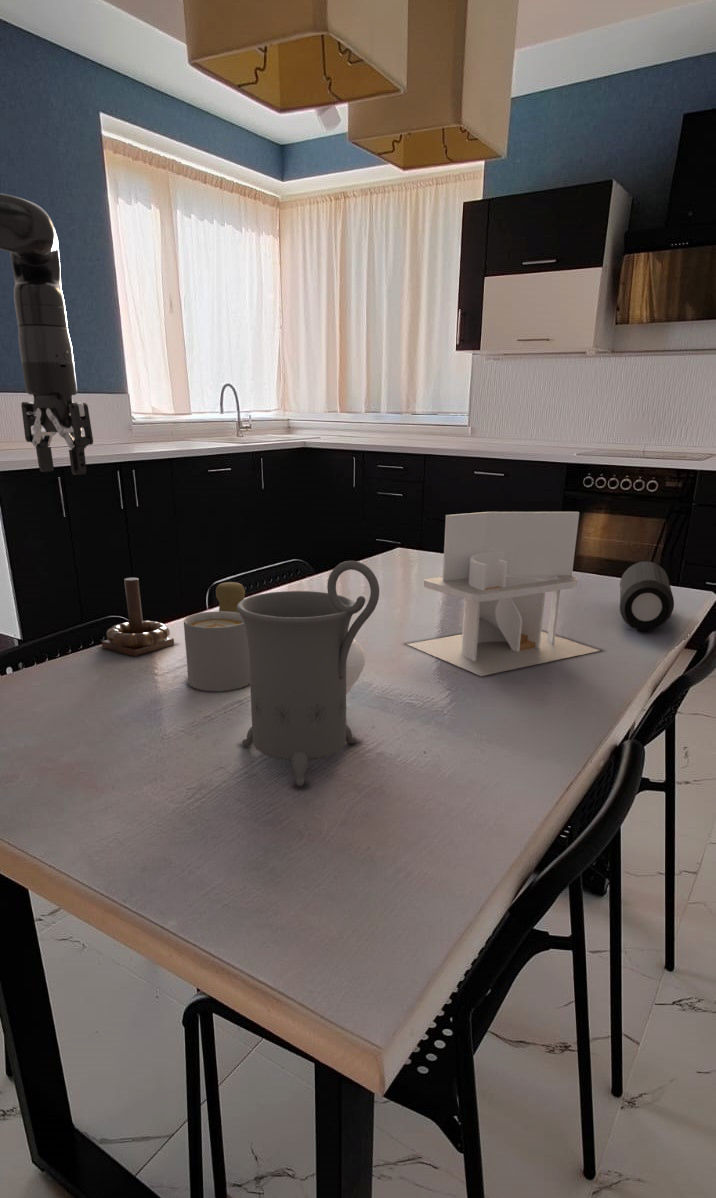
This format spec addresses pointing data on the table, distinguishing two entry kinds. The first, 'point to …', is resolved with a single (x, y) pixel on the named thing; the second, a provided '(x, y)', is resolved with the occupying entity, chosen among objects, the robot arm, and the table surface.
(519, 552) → the architectural model
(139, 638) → the ring
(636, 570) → the portable speaker
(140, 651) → the post
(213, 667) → the coffee mug
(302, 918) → the table surface
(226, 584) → the cork
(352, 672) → the spinning top
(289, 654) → the mug
